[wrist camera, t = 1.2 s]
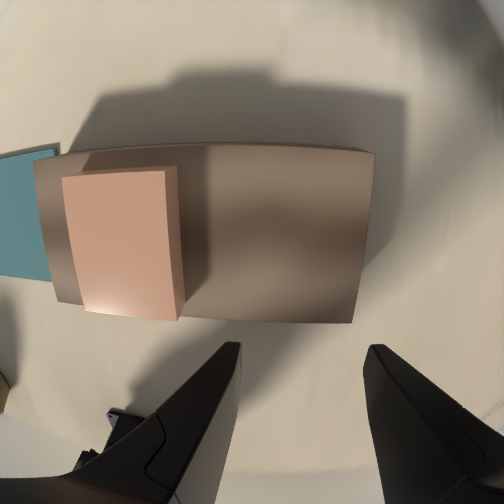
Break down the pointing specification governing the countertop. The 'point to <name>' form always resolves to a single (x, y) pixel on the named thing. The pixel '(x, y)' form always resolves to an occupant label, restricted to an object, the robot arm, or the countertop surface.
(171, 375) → the countertop surface
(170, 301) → the tile
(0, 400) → the squeeze bottle
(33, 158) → the mat
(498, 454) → the robot arm
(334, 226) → the platform
